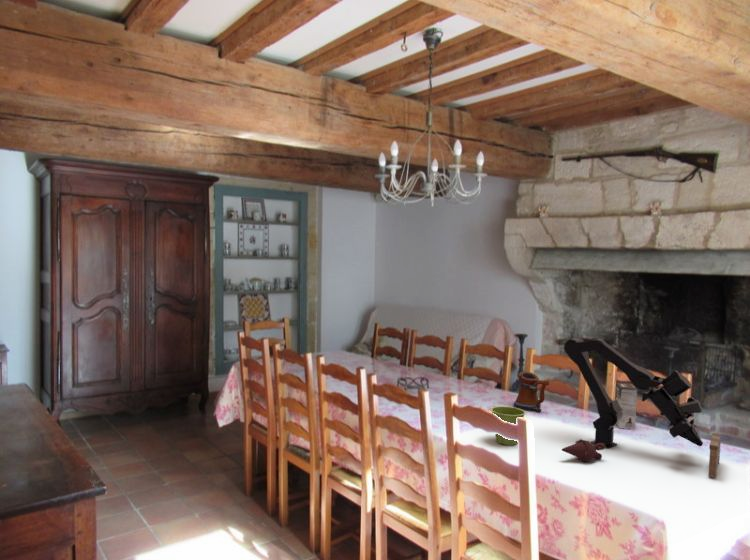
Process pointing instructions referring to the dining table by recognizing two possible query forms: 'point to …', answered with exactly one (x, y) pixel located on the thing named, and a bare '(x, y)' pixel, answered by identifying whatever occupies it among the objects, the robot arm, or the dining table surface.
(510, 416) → the plant pot
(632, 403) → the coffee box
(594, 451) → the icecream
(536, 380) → the mug
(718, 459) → the gate post
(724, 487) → the dining table surface
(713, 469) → the brown flat wooden slab
